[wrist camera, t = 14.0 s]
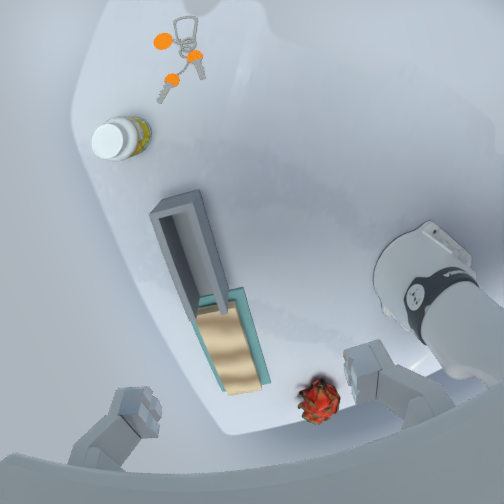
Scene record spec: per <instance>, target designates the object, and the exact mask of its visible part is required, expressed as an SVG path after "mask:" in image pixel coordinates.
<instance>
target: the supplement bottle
mask: <svg viewBox="0 0 504 504" xmlns="http://www.w3.org/2000/svg"><path fill="white" fill-rule="evenodd" d="M150 140H151V129H150V127H149V125H148V123H147V122H146V121H145V120H143V119H141V118H139V117H115V118H111V119H109V120H107V121H106V122H105V123H104V124H103V125H101V126H100V127H98V128H97V129H96V130H95V132H94V134H93V136H92V141H91V144H92V149H93V151H94V153H95V154H96V155H97V156H98V157H100V158H102V159H107V160H110V161H121V160H124V159H126V158H129V157H132V156H134V155H137V154H139V153H141V152H142V151H144V150H145V149H146V148H147V146H148V144H149V143H150Z"/></svg>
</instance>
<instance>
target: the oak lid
mask: <svg viewBox="0 0 504 504" xmlns="http://www.w3.org/2000/svg"><path fill="white" fill-rule="evenodd" d="M195 322H196V324H197V326H198V329H199V331H200V334H201V336H202V338H203V341H204V343H205V345H206V348H207V350H208V352H209V354H210V357H211V359H212V361H213V364H214V366H215V368H216V370H217V372H218V375H219V377H220V379H221V381H222V383H223V386H224V388H225V390H226V392H227V394H228V396H230V395H236V394H242V393H248V392H254V391H259V390H262V385H261V380H260V377H259V374H258V371H257V368H256V365H255V362H254V359H253V356H252V353H251V350H250V347H249V344H248V341H247V338H246V334H245V331H244V328H243V325H242V322H241V319H240V315H239V312H238V309H237V306H236V303H235V301H230V302H228V314H224V315H221V314H220V311H219V308H218V305H217V304H216V305H211V306H206V307H201V308H198V312H197V318H196V320H195Z"/></svg>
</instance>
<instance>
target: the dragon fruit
mask: <svg viewBox="0 0 504 504" xmlns="http://www.w3.org/2000/svg"><path fill="white" fill-rule="evenodd" d="M311 386H313V388H312V389H311V390H302V391H300V392H299V394H298V396H297V397H301V396H303V397H304V400H305V402H301V403H300V404H299V405H298V409H300V408H302V409H303V410H304V412H303V414H302V418H304V419H305V420H307V421H308V422H312V423H313V424H321V423H322V422H323V421H327V420H330V416H331V415H332V414H336V412H337V411H338V410H339V403H340V396H339V394H338V392H337V390H336V388H335V387H334V386H331V385H330V384H328V383H326V382H325V381H324V379H322V380H321V382H320V380H316V381H315V382H313V383H312V384H311Z"/></svg>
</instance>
